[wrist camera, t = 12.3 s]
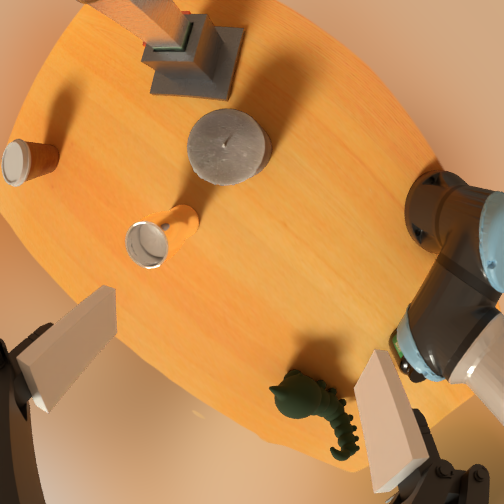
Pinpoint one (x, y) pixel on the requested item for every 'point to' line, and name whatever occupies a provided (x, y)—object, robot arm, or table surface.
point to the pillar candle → (228, 147)
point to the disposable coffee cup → (27, 161)
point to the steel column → (149, 21)
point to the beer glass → (160, 235)
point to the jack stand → (197, 62)
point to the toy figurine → (316, 408)
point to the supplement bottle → (403, 360)
